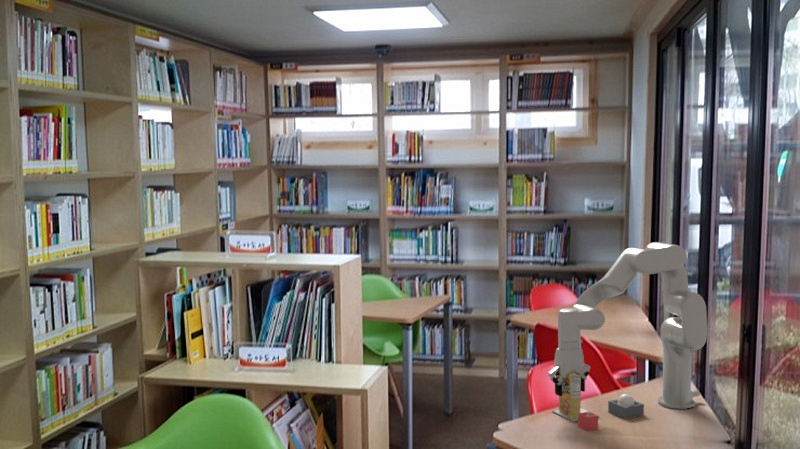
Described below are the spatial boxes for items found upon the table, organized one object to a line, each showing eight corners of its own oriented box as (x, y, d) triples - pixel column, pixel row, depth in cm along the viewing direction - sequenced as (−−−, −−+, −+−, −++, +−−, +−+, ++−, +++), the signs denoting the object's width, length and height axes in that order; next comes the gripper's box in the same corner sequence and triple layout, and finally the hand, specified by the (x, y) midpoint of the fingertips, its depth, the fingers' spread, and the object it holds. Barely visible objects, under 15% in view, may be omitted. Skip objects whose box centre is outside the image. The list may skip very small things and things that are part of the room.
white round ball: (626, 406, 251) (626, 390, 251) (637, 411, 246) (637, 395, 246) (614, 408, 249) (614, 393, 248) (625, 413, 244) (625, 397, 243)
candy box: (558, 410, 250) (558, 368, 248) (569, 409, 251) (569, 367, 250) (570, 419, 241) (570, 375, 240) (581, 417, 242) (581, 374, 241)
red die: (588, 424, 237) (588, 411, 237) (597, 428, 233) (598, 415, 233) (578, 426, 235) (578, 413, 235) (587, 431, 231) (587, 417, 231)
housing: (626, 407, 253) (626, 397, 253) (643, 414, 245) (643, 404, 245) (608, 411, 249) (608, 401, 249) (625, 418, 242) (625, 408, 242)
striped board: (576, 407, 255) (576, 405, 254) (599, 417, 244) (599, 416, 244) (552, 412, 250) (552, 410, 250) (573, 422, 239) (573, 421, 239)
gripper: (582, 339, 251) (582, 386, 252) (542, 345, 244) (543, 394, 245) (596, 343, 244) (597, 391, 245) (555, 350, 237) (556, 400, 238)
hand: (570, 392), depth 245 cm, fingers open, 9 cm apart
